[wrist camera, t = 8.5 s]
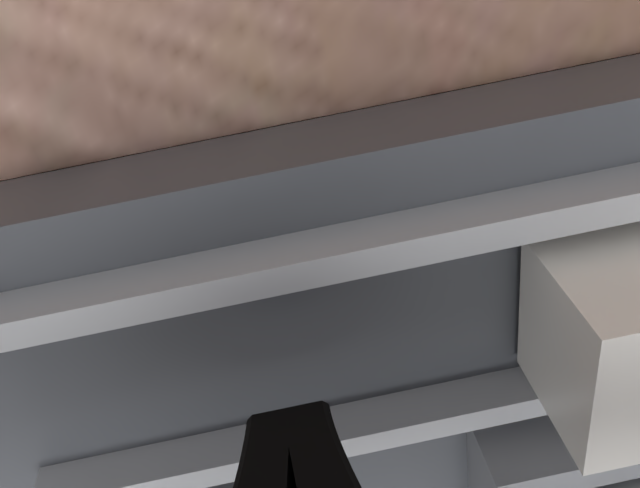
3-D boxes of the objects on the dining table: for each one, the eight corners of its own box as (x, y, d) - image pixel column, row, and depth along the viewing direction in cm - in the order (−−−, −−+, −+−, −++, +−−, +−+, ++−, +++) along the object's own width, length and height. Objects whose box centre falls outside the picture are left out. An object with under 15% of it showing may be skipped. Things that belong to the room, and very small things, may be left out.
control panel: (810, 19, 12) (1026, 80, 9) (687, 449, 20) (778, 567, 17) (-162, 214, 12) (-313, 353, 9) (94, 577, 20) (67, 724, 16)
